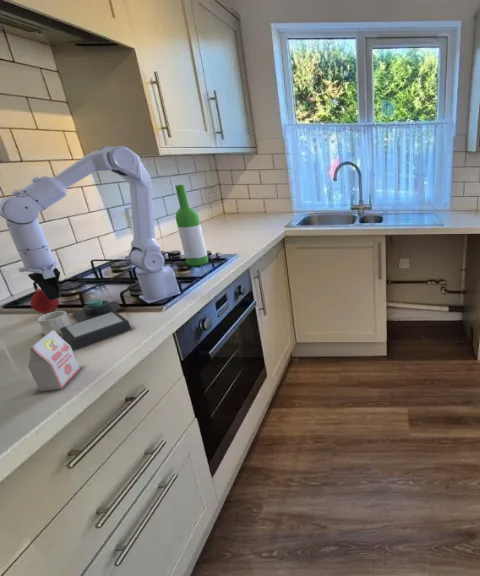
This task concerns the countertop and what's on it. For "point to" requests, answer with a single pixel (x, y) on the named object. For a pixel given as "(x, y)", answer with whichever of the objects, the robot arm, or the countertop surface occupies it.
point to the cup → (54, 321)
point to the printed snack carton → (52, 362)
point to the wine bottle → (190, 231)
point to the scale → (95, 329)
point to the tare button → (95, 303)
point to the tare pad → (97, 310)
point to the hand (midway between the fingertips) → (54, 298)
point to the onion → (43, 302)
